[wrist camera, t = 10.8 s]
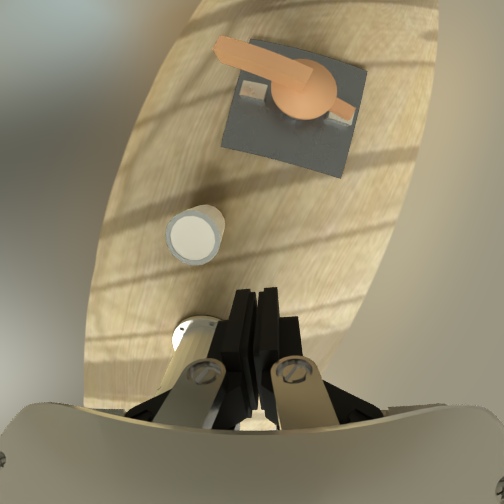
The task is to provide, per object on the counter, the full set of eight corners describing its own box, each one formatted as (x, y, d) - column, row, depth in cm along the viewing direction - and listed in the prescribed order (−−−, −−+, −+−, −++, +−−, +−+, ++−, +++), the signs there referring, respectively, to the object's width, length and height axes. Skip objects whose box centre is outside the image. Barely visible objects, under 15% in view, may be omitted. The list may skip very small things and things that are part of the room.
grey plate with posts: (338, 177, 34) (356, 185, 27) (222, 147, 34) (208, 145, 27) (364, 73, 29) (386, 56, 21) (251, 42, 29) (245, 16, 21)
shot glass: (208, 190, 36) (194, 198, 30) (239, 228, 38) (232, 244, 32) (173, 219, 38) (154, 233, 32) (203, 255, 40) (190, 276, 33)
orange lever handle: (360, 91, 23) (380, 79, 18) (337, 140, 25) (352, 138, 20) (240, 38, 22) (232, 15, 17) (214, 86, 24) (200, 71, 19)
